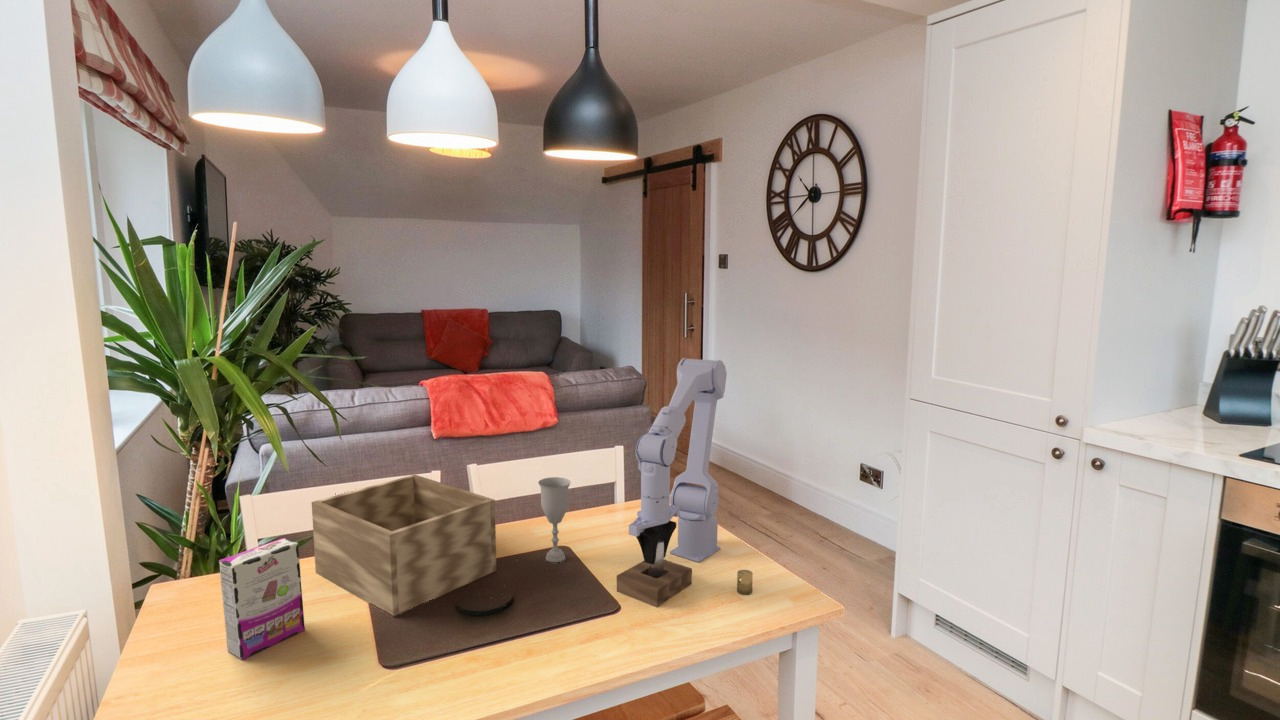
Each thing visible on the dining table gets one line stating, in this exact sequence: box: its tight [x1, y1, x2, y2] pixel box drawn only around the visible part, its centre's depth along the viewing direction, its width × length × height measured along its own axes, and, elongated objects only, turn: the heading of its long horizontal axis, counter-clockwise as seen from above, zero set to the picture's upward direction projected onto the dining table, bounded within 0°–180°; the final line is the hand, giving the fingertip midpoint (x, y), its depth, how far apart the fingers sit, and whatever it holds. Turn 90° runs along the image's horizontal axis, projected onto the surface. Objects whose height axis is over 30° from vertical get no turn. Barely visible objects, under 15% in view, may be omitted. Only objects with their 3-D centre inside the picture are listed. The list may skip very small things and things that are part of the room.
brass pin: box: [736, 569, 754, 596], centre depth 134 cm, size 3×3×4 cm
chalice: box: [537, 476, 572, 562], centre depth 147 cm, size 7×7×18 cm
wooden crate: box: [311, 474, 497, 615], centre depth 140 cm, size 24×28×16 cm
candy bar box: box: [218, 537, 306, 660], centre depth 114 cm, size 11×5×16 cm, turn 148°
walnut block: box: [616, 559, 693, 608], centre depth 135 cm, size 12×10×4 cm
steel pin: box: [649, 539, 665, 578], centre depth 134 cm, size 3×3×7 cm
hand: (654, 559), depth 135 cm, fingers closed on steel pin, 3 cm apart
